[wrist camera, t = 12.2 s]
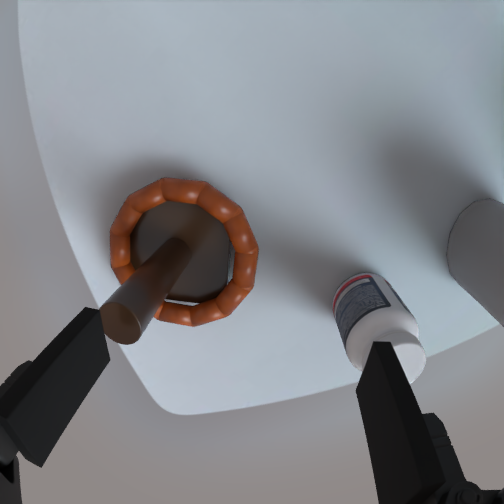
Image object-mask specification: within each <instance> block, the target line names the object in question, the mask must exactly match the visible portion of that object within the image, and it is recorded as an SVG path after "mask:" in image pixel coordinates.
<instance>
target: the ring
mask: <svg viewBox="0 0 504 504" xmlns="http://www.w3.org/2000/svg"><path fill="white" fill-rule="evenodd" d="M166 201H172V202H181V203H190V204H197V205H198V206H200V207H201V208H202V209H204V210H205V211H207V212H208V213H209V214H211V215H212V216H213V217H215V218H216V219H217V220H219V221H220V222H221V223H223V225H224V228H225V230H226V232H227V234H228V236H229V239H230V241H231V243H232V245H233V247H234V250H235V258H234V267H233V276H232V279H231V281H230V282H229V283H228V284H227V285H226V287H225V288H224V289H223V290H222V292H221V293H220V294H219V295H218V296H217V298H214V299H212V300H209V301H206V302H203V303H200V304H197V305H194V306H189V305H183V304H177V303H172V302H166V301H165V300H164V301H163V303H162V304H161V306H160V307H159V309H158V310H157V312H156V313H155V315H154V316H153V317H154V318H156V319H157V320H160V321H164V322H170V323H175V324H180V325H186V326H192V327H195V326H199V325H202V324H205V323H209V322H212V321H215V320H218V319H221V318H224V317H227V316H229V315H230V314H231V313H232V312H233V311H234V310H235V308H236V307H237V306H238V305H239V304H240V303H241V302H242V300H243V299H244V298H245V297H246V296H247V295H248V293H249V292H250V291H251V290H252V289H253V286H254V281H255V274H256V267H257V260H258V252H259V247H258V244H257V242H256V239H255V237H254V235H253V232H252V230H251V228H250V225H249V223H248V221H247V219H246V216H245V214H244V212H243V210H242V208H241V207H240V206H239V205H237V204H236V203H235V202H233V201H232V200H231V199H229V198H228V197H227V196H225V195H224V194H222V193H221V192H220V191H218V190H217V189H216V188H214V187H213V186H212V185H210V184H209V183H207V182H205V181H197V180H187V179H177V178H161V179H159V180H157V181H155V182H153V183H151V184H149V185H147V186H146V187H144V188H142V189H140V190H138V191H136V192H134V193H132V194H131V195H129V196H128V197H127V198H126V200H125V202H124V204H123V205H122V207H121V209H120V211H119V213H118V215H117V216H116V218H115V220H114V222H113V224H112V226H111V228H110V260H111V268H112V270H113V272H114V273H115V275H116V277H117V279H118V281H119V283H120V284H121V285H122V284H123V283H124V282H125V281H126V280H127V279H128V278H129V277H130V276H131V275H132V274H133V273H134V272H135V269H134V267H133V265H132V263H131V261H130V234H131V232H132V231H133V229H134V227H135V225H136V224H137V222H138V220H139V219H140V217H141V215H142V214H143V213H144V212H146V211H148V210H150V209H152V208H154V207H156V206H158V205H160V204H162V203H164V202H166Z"/></svg>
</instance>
